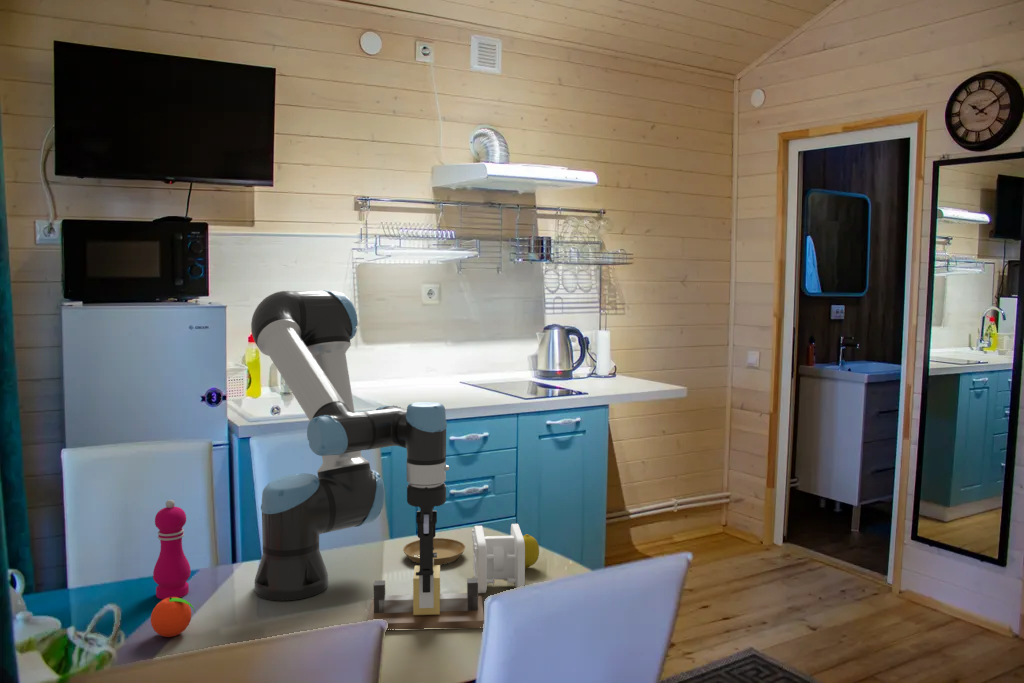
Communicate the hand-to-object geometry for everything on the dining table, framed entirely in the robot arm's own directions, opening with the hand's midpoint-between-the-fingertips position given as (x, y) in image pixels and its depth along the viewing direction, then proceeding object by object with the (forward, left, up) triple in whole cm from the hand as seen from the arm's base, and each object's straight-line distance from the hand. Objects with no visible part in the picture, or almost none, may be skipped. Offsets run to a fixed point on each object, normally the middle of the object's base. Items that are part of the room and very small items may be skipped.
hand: (426, 599), depth 155 cm
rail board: (0, 0, -4) cm, 4 cm away
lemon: (+22, +25, -4) cm, 34 cm away
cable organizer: (+15, +16, -4) cm, 22 cm away
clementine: (-46, -5, -4) cm, 46 cm away
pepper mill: (-53, +15, -4) cm, 55 cm away
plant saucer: (+1, +34, -4) cm, 34 cm away
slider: (0, 0, -2) cm, 2 cm away
